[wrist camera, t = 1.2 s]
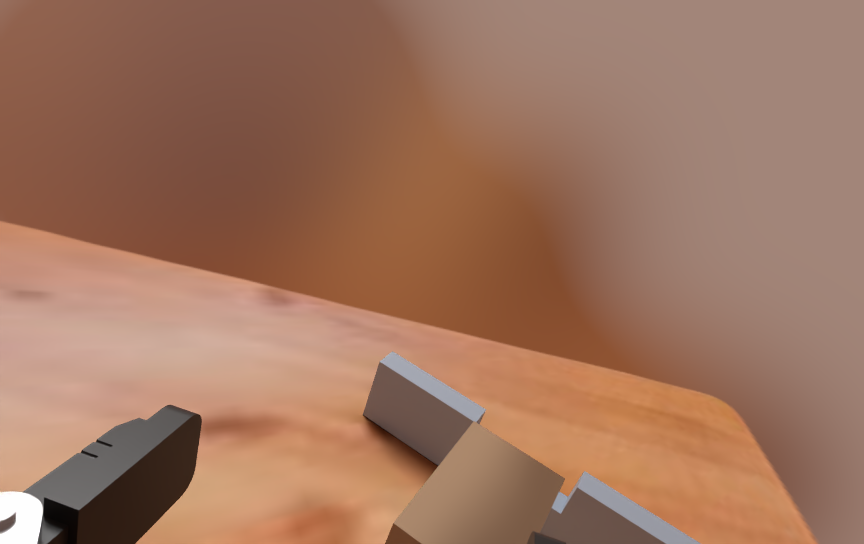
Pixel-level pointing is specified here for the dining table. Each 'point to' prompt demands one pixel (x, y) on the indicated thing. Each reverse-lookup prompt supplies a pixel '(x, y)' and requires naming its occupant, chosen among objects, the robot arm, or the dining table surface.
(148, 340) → the dining table surface
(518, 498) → the walnut block
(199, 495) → the dining table surface
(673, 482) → the dining table surface
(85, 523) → the robot arm
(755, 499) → the dining table surface
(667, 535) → the slate rail
